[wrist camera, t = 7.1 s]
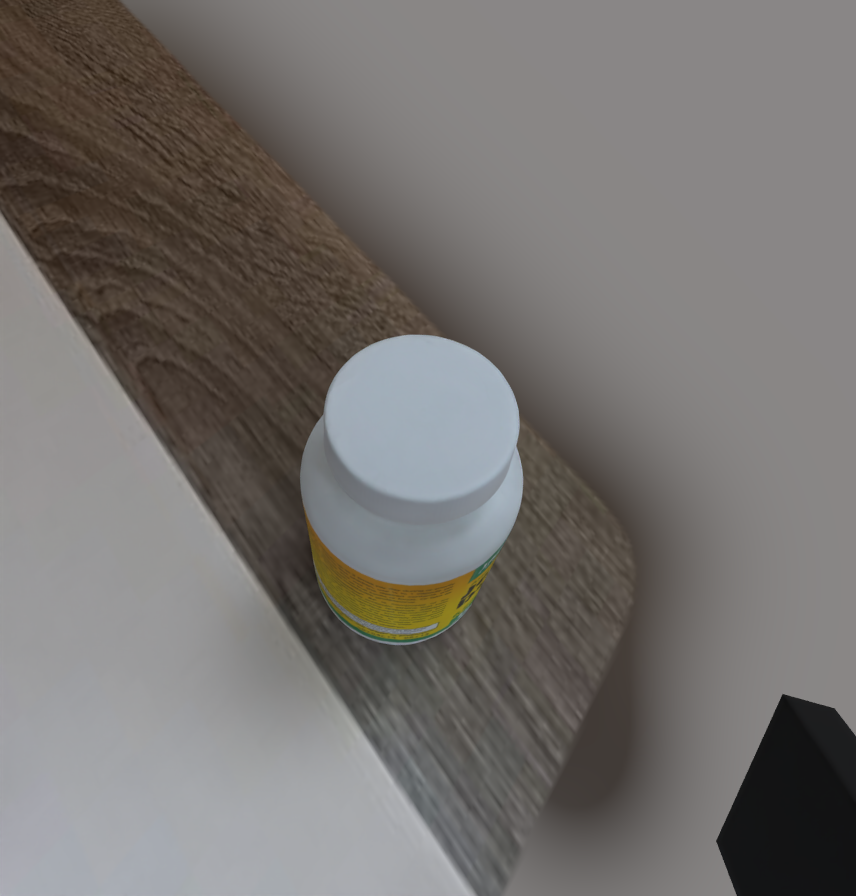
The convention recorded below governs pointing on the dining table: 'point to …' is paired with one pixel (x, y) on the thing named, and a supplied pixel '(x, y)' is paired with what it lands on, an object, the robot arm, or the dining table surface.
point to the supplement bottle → (410, 485)
